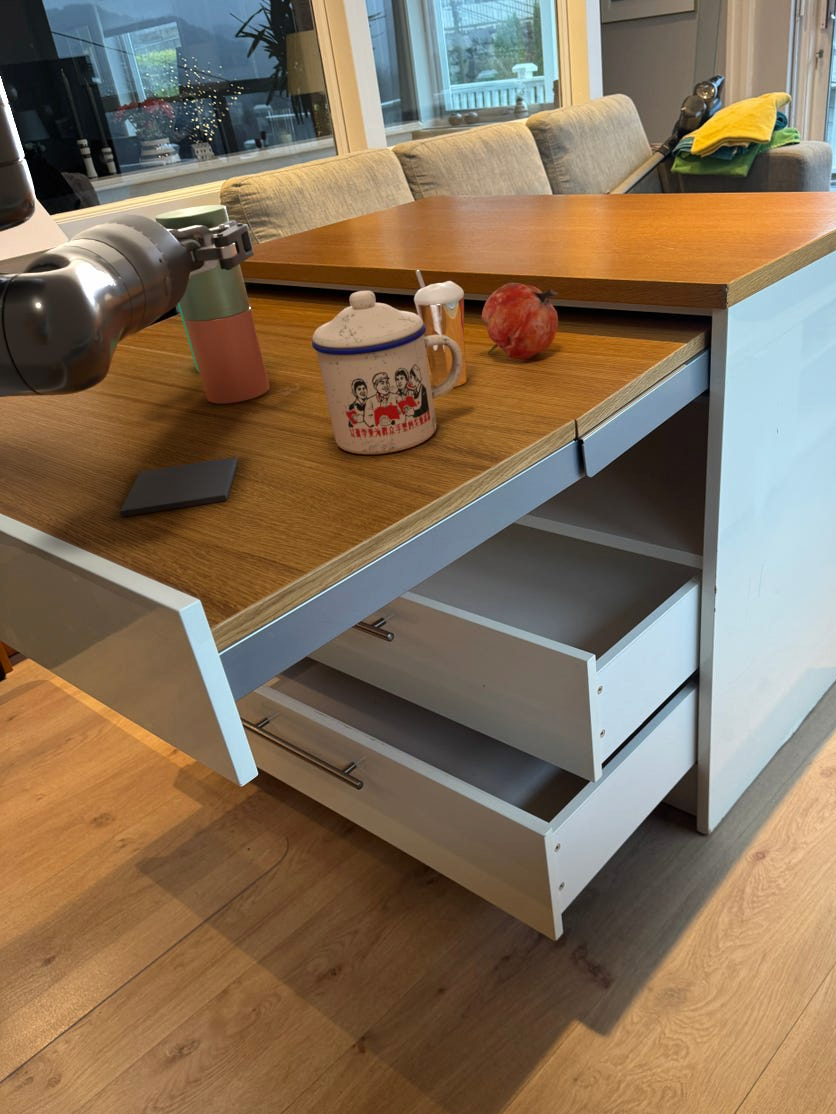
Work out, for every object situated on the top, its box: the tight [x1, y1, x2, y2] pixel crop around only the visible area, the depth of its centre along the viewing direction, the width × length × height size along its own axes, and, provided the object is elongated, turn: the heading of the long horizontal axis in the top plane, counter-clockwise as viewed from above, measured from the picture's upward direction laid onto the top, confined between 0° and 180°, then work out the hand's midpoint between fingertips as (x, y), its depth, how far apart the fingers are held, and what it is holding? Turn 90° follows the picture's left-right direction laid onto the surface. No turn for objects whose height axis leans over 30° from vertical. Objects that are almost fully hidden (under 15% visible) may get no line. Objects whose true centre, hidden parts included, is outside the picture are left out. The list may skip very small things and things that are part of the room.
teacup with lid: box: [311, 290, 462, 455], centre depth 73 cm, size 12×9×12 cm
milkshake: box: [413, 269, 467, 388], centre depth 84 cm, size 4×5×10 cm
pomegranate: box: [481, 282, 559, 360], centre depth 89 cm, size 7×7×10 cm
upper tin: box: [154, 204, 251, 321], centre depth 85 cm, size 6×6×9 cm
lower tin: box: [184, 307, 271, 405], centre depth 89 cm, size 6×6×8 cm
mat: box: [119, 456, 239, 518], centre depth 71 cm, size 8×8×1 cm
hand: (189, 238), depth 82 cm, fingers open, 8 cm apart
